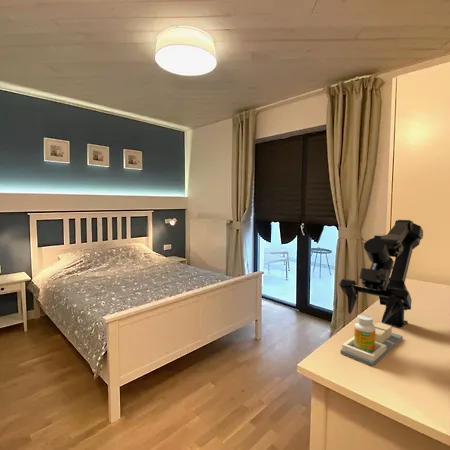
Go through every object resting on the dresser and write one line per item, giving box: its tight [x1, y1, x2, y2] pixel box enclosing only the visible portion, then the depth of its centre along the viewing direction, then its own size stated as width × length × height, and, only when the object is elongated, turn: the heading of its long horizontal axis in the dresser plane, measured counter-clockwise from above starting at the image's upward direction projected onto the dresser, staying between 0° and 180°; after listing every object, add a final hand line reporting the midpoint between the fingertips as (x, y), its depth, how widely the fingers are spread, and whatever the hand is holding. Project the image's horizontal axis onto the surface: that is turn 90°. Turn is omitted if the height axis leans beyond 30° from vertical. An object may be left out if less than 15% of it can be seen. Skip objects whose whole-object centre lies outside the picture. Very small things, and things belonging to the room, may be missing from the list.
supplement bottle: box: [353, 313, 375, 354], centre depth 82 cm, size 5×5×10 cm
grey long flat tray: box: [340, 322, 403, 367], centre depth 86 cm, size 22×9×4 cm, turn 131°
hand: (365, 317), depth 82 cm, fingers open, 9 cm apart
